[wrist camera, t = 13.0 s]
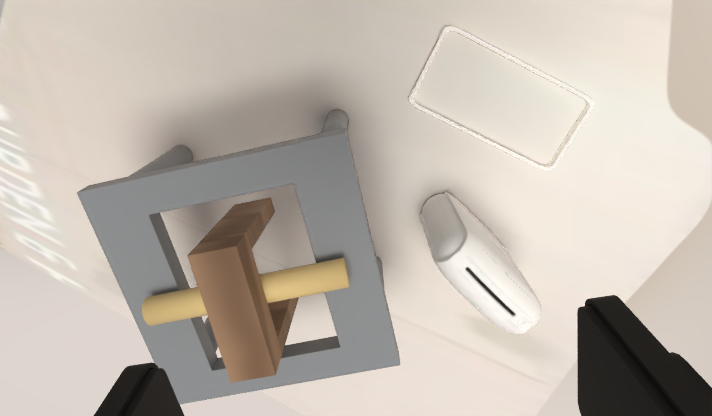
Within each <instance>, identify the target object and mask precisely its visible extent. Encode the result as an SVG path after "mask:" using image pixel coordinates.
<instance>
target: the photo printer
mask: <svg viewBox="0 0 712 416" xmlns="http://www.w3.org/2000/svg"><path fill="white" fill-rule="evenodd" d="M420 221H421V223H422V226H423V229H424V232H425V235H426V238H427V241H428V244H429V247H430V251H431V254H432V257H433V259H434V261H435V263H436V265H437V266H438V268H439V270H440V271H441V273H442V274H443V275H444V277H445V278H446V279H447V280H448V281H449V282H450V283H451V284H452V285H453V287H454V288H455V289H456V290H457V291H458V292H459V293H460V294H461V295H462V296H463V297H464V298H465V299H466V300H467V301H468V302H469V303H470V304H471V305H472V306H473V307H474V308H476V309H477V310H478V311H479V312H480V313H481V314H482V315H483V316H484V317H486V318H487V319H488V320H489V321H491V322H492V323H493V324H495V325H497V326H498V327H500V328H501V329H503V330H505V331H507V332H510V333H512V334H523V333H525V332H526V331H527V330H528V329H529V328H530V327H532V326H534V325H536V323H537V322H538V320H539V318H540V315H541V304H540V302H539V300H538V298H537V296H536V295H535V293H534V292H533V290H532V288H531V287H530V285H529V284H528V282H527V281H526V279H525V278H524V276H523V275H522V273H521V272H520V270H519V269H518V267H517V266H516V264H515V263H514V261H513V260H512V258H511V257H510V255H509V254H508V252H507V251H506V250H505V248H504V247H503V246H502V244H501V243H500V242H499V241H498V240H497V239H496V238H495V237H494V236H493V234H492V233H491V232H490V231H489V230H488V229H487V228H486V227H485V226H484V225H483V224H482V223H481V222H480V221H479V220H478V219H477V218H476V217H475V216H474V215H473V214H472V213H471V212H470V211H469V210H468V209H467V208H466V207H465V206H464V205H463V204H462V203H460V202H459V201H458V200H457V199H456V198H455V197H453V196H452V195H450V194H449V193H447V192H445V193H444V194H437V195H434V196H432V197H431V198H429V199H428V200H427V201H426V203H425V204H424V206H423V209H422V213H421V214H420Z"/></svg>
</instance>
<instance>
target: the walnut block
mask: <svg viewBox="0 0 712 416" xmlns="http://www.w3.org/2000/svg"><path fill="white" fill-rule="evenodd" d="M274 212H275V211H274V207H273V203H272V200H271V198H266V199H261V200H256V201H251V202H246V203H241V204H236V205H234V206H233V207H232V208H231V209H230V210H229V211H228V213H227V214H226V215H225V216H224V217H223V218H222V219H221V220H220V221H219V222H218V223H217V224H216V225H215V227H214V228H213V229H212V230H211V231H210V232H209V233H208V234H207V235H206V236H205V237H204V238H203V240H202V241H201V242H200V243H199V244H198V245H197V246H196V247H195V248H194V249H193V250H192V251H191V252H190V254H189V255H188V259H189V262H190V265H191V268H192V271H193V274H194V277H195V280H196V282H197V285H198V288H199V291H200V294H201V297H202V300H203V303H204V306H205V309H206V312H207V315H208V318H209V321H210V323H211V326H212V329H213V332H214V335H215V338H216V341H217V344H218V347H219V350H220V353H221V356H222V359H223V361H224V364H225V367H226V370H227V373H228V376H229V379H230V382H231V383H233V382H239V381H245V380H251V379H257V378H263V377H268V376H274V375H276V373H277V370H278V366H279V363H280V359H281V356H282V352H283V349H284V346H285V342H286V339H287V335H288V332H289V329H290V325H291V322H292V318H293V315H294V311H295V308H296V305H297V301H298V298H299V297H297V298H292V299H287V300H282V301H276V302H271V303H267V300H266V297H265V293H264V290H263V287H262V283H261V280H260V277H259V273H258V270H257V267H256V263H255V260H254V257H253V253H252V250H251V249H252V248H253V246H254V244H255V243H256V241H257V240H258V238H259V236H260V235H261V233H262V231H263V230H264V228H265V227H266V225H267V223H268V222H269V220H270V219H271V217H272V215H273V214H274Z"/></svg>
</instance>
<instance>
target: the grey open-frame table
mask: <svg viewBox="0 0 712 416" xmlns="http://www.w3.org/2000/svg"><path fill="white" fill-rule="evenodd" d="M348 123H349V119H348V116H347V114H346V113H345V112H344V111H342V110H333V111H332V112H330V113H329V115H328V116H327V119H326V122H325V124H324V127H323V129H322V132H321V134H316V135H312V136H308V137H303V138H299V139H294V140H290V141H285V142H281V143H276V144H272V145H267V146H263V147H259V148H254V149H250V150H245V151H241V152H236V153H232V154H227V155H223V156H218V157H214V158H210V159H205V160H201V161H196V162H192V160H193V155H192V152H191V151H190V149H189V148H187V147H185V146H181V145H180V146H176V147H175V148H173V149H171V150H170V151H168V152H167V153H165V154H164V155H162V156H160V157H159V158H157V159H156V160H154V161H153V162H151V163H149V164H148V165H146V166H145V167H143V168H141V169H140V170H138V171H137V172H135V173H134V174H132V175H130V176H129V177H125V178H120V179H116V180H111V181H107V182H103V183H98V184H94V185H89V186H87V187H86V188H84V189H82V190H80V191H79V192H77V194H78V196H79V199H80V201H81V203H82V205H83V207H84V210H85V212H86V214H87V216H88V218H89V221H90V223H91V225H92V227H93V229H94V231H95V234H96V236H97V238H98V240H99V242H100V245H101V247H102V249H103V251H104V253H105V255H106V258H107V260H108V262H109V264H110V266H111V269H112V271H113V273H114V275H115V277H116V280H117V282H118V284H119V286H120V288H121V290H122V293H123V295H124V297H125V299H126V301H127V304H128V306H129V308H130V310H131V312H132V315H133V317H134V319H135V321H136V323H137V325H138V328H139V330H140V332H141V334H142V336H143V339H144V341H145V343H146V345H147V347H148V349H149V352H150V354H151V356H152V358H153V360H154V363H155V364H156V365H157V366H158V368H163V369H164V370H165V372H166V374H167V376H168V378H169V381H170V383H171V386H172V388H173V390H174V393H175V395H176V397H177V400H178V402H179V404H184V403H190V402H195V401H201V400H207V399H212V398H217V397H223V396H229V395H235V394H240V393H246V392H251V391H257V390H263V389H268V388H274V387H280V386H285V385H291V384H296V383H302V382H308V381H313V380H319V379H325V378H330V377H336V376H341V375H347V374H353V373H358V372H364V371H370V370H375V369H381V368H386V367H392V366H398V365H400V359H399V351H398V347H397V343H396V339H395V334H394V330H393V326H392V322H391V317H390V313H389V309H388V305H387V300H386V296H385V291H384V280H383V269H382V262H381V260H380V259H379V258H378V257H376V254H375V249H374V245H373V241H372V237H371V232H370V228H369V224H368V220H367V215H366V211H365V207H364V203H363V198H362V194H361V190H360V186H359V182H358V177H357V173H356V169H355V165H354V160H353V156H352V152H351V148H350V143H349V139H348V135H347V130H348ZM191 162H192V163H191ZM290 184H294V186H295V190H296V193H297V197H298V200H299V204H300V207H301V211H302V214H303V218H304V221H305V225H306V228H307V232H308V235H309V239H310V242H311V246H312V249H313V253H314V256H315V260H316V263H315V264H310V265H305V266H300V267H295V268H290V269H285V270H280V271H275V272H270V273H265V274H260V275H259V277H260V280H261V283H262V287H263V290H264V293H265V297H266V300H267V303H271V302H276V301H282V300H287V299H292V298H297V297H302V296H307V295H312V294H318V293H323V292H325V295H326V298H327V302H328V305H329V309H330V312H331V316H332V319H333V323H334V326H335V330H336V333H337V336H334V337H329V338H323V339H318V340H313V341H307V342H302V343H296V344H291V345H286V346H284V349H283V352H282V356H281V359H280V363H279V366H278V370H277V373H276V375H274V376H268V377H263V378H257V379H251V380H245V381H239V382H233V383H231V382H230V379H229V376H228V373H227V370H226V367H225V364H224V361H223V359H222V357H221V358H217V355H216V353H215V352H216V350H217V348H218V344H217V341H216V338H215V335H214V332H213V329H212V326H211V323H210V321H209V318H207V319H206V321H205V323H204V322H203V320H202V317H201V316H204V315H207V312H206V309H205V306H204V303H203V300H202V297H201V294H200V291H199V288H198V287H195V288H190V287H189V285H188V282H187V280H186V277H185V275H184V272H183V270H182V267H181V265H180V262H179V260H178V257H177V255H176V252H175V250H174V247H173V245H172V242H171V240H170V237H169V235H168V232H167V230H166V227H165V225H164V222H163V220H162V217H161V215H160V212H165V211H169V210H174V209H178V208H183V207H188V206H192V205H197V204H202V203H206V202H211V201H216V200H220V199H225V198H229V197H234V196H239V195H243V194H248V193H253V192H257V191H262V190H266V189H271V188H276V187H280V186H285V185H290Z"/></svg>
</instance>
